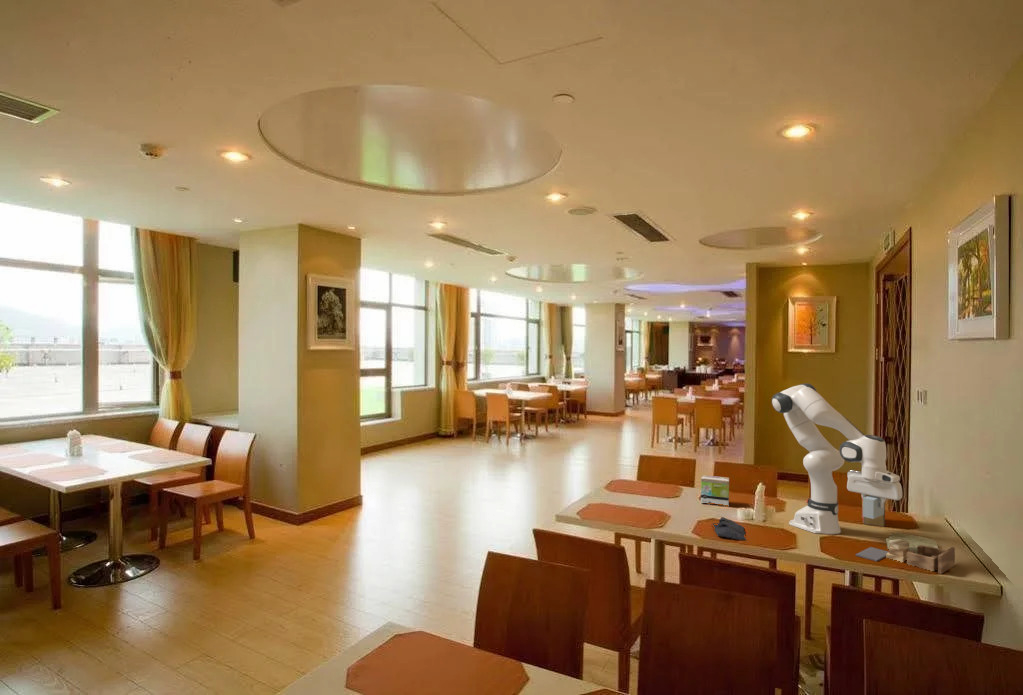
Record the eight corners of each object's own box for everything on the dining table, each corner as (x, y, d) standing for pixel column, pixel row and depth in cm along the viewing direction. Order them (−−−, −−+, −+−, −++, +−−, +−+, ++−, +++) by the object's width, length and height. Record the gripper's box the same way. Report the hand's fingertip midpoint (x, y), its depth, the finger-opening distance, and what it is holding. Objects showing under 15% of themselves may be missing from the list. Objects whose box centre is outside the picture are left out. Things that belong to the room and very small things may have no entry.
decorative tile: (935, 546, 246) (935, 538, 246) (940, 560, 230) (940, 551, 230) (885, 537, 257) (885, 530, 257) (886, 550, 240) (886, 542, 240)
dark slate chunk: (712, 538, 254) (712, 528, 254) (711, 524, 275) (711, 515, 275) (747, 542, 249) (747, 532, 249) (744, 528, 270) (744, 518, 270)
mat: (855, 555, 233) (855, 554, 233) (870, 548, 242) (870, 546, 242) (876, 561, 226) (876, 560, 226) (891, 553, 235) (891, 552, 235)
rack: (906, 564, 223) (906, 547, 223) (921, 556, 233) (921, 539, 233) (941, 574, 214) (941, 556, 214) (954, 564, 223) (954, 547, 223)
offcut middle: (889, 553, 230) (889, 547, 230) (894, 549, 235) (894, 543, 235) (903, 557, 226) (903, 551, 226) (908, 552, 232) (908, 546, 232)
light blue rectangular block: (862, 516, 233) (862, 497, 233) (873, 512, 239) (873, 493, 239) (873, 518, 229) (873, 499, 229) (884, 514, 236) (884, 495, 236)
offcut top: (889, 546, 232) (889, 540, 232) (900, 544, 234) (900, 539, 234) (898, 549, 228) (898, 543, 228) (909, 548, 230) (909, 542, 230)
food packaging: (861, 517, 287) (861, 469, 287) (882, 520, 282) (882, 471, 283) (863, 524, 275) (863, 474, 275) (885, 527, 271) (885, 476, 271)
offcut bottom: (886, 559, 230) (886, 553, 230) (895, 554, 236) (895, 548, 236) (902, 564, 225) (902, 558, 225) (911, 558, 231) (911, 552, 231)
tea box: (700, 504, 310) (700, 478, 310) (701, 499, 320) (701, 474, 320) (728, 507, 305) (729, 480, 305) (729, 502, 314) (729, 476, 314)
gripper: (844, 470, 241) (844, 501, 241) (898, 479, 224) (897, 513, 224) (850, 468, 245) (850, 499, 245) (904, 477, 228) (903, 510, 228)
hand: (873, 505), depth 234 cm, fingers closed on light blue rectangular block, 4 cm apart
